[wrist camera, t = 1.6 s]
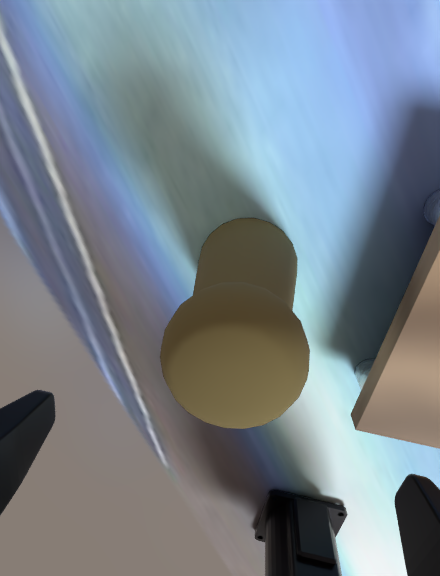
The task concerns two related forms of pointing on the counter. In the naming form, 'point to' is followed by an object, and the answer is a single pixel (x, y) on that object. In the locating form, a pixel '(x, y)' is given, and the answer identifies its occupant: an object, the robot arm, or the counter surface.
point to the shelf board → (408, 363)
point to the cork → (238, 330)
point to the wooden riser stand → (433, 209)
